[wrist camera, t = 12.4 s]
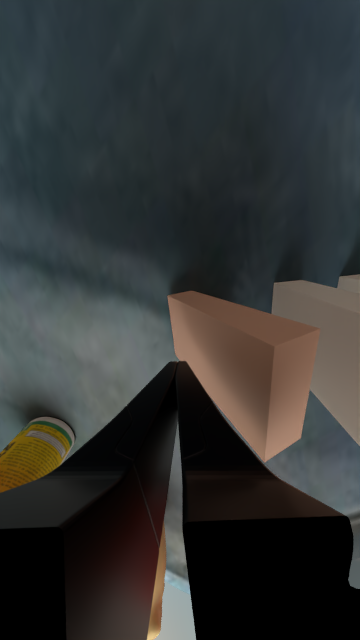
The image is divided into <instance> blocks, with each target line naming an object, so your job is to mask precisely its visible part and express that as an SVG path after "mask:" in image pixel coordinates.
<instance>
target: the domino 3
mask: <svg viewBox="0 0 360 640" xmlns="http://www.w3.org/2000/svg"><path fill="white" fill-rule="evenodd" d="M337 289H342V290H346V291H350V292H354V293H358V294H360V274H359V275H349V276H339V281H338V286H337Z"/></svg>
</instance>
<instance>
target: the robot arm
mask: <svg viewBox="0 0 360 640" xmlns="http://www.w3.org/2000/svg"><path fill="white" fill-rule="evenodd" d="M177 422H178V424H179V438H180V452H181V463H182V464H181V466H182V484H183V538H184V545H185V553H186V561H187V569H188V577H189V585H190V593H191V600H192V609H193V616H194V625H195V633H196V640H360V589H356V588H354V587H351V586H350V584H349V581H348V577H349V571H350V565H351V560H352V554H353V532H352V528H351V524H350V520H349V518H348V517H347V516H345V515H343V514H342V513H340V512H338V511H336V510H334V509H333V508H331V507H329V506H327V505H325V504H324V503H322V502H320V501H318V500H316V499H315V498H313V497H311V496H309V495H307V494H306V493H304V492H302V491H300V490H298V489H297V488H295V487H293V486H291V485H289V484H288V483H286V482H284V481H282V480H281V479H279V478H278V477H277V476H275V475H274V474H273V473H272V472H271V471H270V470H269V469H268V468H267V467H266V466H265V465H264V464H263V463H262V462H261V461H260V460H259V459H258V458H257V456H256V455H255V454H254V453H253V452H252V451H251V449H250V448H249V447H248V446H247V445H246V444H245V443H244V441H243V440H242V439H241V438H240V437H239V436H238V434H237V433H236V432H235V431H234V430H233V429H232V427H231V426H230V425H229V424H228V422H227V421H226V420H225V419H224V417H223V416H222V414H221V413H220V412H219V410H218V409H217V407H216V406H215V404H214V403H213V401H212V400H211V398H210V397H209V395H208V394H207V392H206V391H205V389H204V387H203V386H202V384H201V383H200V381H199V380H198V378H197V377H196V375H195V374H194V372H193V371H192V369H191V368H190V366H189V365H188V363H187V362H186V361H179V362H177V361H174V362H169V363H168V364H167V365H166V366H165V367H164V368H163V369H162V370H161V371H160V372H159V373H158V374H157V375H156V376H155V377H154V378H153V379H152V380H151V381H150V382H149V383H148V384H147V385H146V386H145V387H144V388H143V389H142V390H141V391H140V392H139V393H138V394H137V395H136V396H135V397H134V398H133V400H132V401H131V402H130V403H129V404H128V405H127V406H126V407H125V408H124V409H123V410H122V411H121V412H120V413H119V414H118V415H117V416H116V417H115V418H114V419H112V420H111V421H110V422H109V423H108V424H107V425H106V426H105V427H104V428H103V429H102V430H100V431H99V432H98V433H97V434H96V435H95V436H94V437H92V438H91V439H90V440H89V441H88V442H87V443H85V444H84V445H83V446H82V447H81V448H80V449H79V450H77V451H76V452H75V453H74V454H73V455H72V456H70V457H69V458H68V459H67V460H66V461H65V462H63V463H62V464H61V465H60V466H58V467H57V468H56V469H54V470H53V471H51V472H50V473H48V474H46V475H45V476H43V477H41V478H39V479H37V480H34V481H32V482H29V483H26V484H23V485H21V486H18V487H15V488H12V489H9V490H7V491H4V492H1V493H0V640H147V635H148V628H149V621H150V614H151V607H152V600H153V593H154V586H155V579H156V572H157V564H158V557H159V548H160V543H161V535H162V528H163V521H164V514H165V507H166V500H167V493H168V486H169V479H170V471H171V464H172V457H173V450H174V443H175V436H176V429H177Z"/></svg>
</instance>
